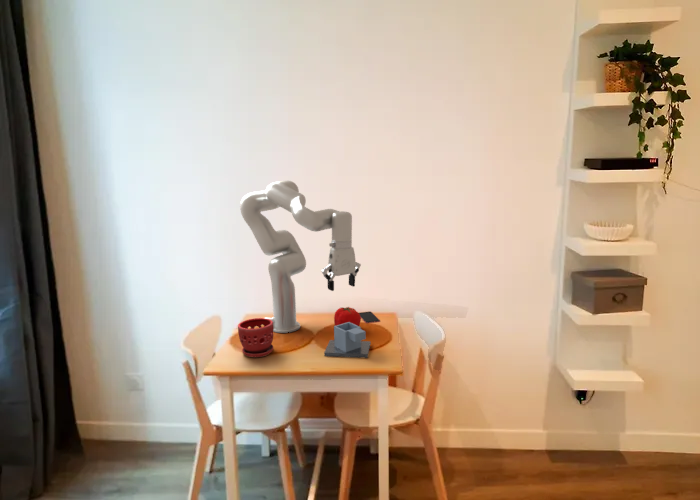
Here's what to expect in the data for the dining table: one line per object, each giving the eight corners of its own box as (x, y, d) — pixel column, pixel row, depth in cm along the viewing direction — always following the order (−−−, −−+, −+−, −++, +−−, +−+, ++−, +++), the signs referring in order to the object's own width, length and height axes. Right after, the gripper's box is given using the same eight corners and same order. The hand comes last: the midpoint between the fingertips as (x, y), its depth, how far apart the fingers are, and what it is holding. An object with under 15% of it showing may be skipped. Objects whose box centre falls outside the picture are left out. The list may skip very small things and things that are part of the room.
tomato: (329, 335, 209) (328, 311, 207) (340, 324, 221) (339, 301, 219) (355, 337, 206) (355, 313, 203) (365, 326, 217) (364, 303, 215)
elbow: (352, 356, 185) (352, 335, 183) (334, 346, 194) (333, 326, 192) (368, 350, 189) (368, 330, 187) (349, 341, 198) (349, 321, 197)
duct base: (324, 356, 189) (323, 339, 187) (330, 343, 200) (329, 327, 199) (367, 358, 187) (367, 341, 185) (370, 345, 198) (370, 329, 197)
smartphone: (371, 311, 236) (381, 321, 223) (371, 312, 236) (381, 322, 223) (356, 312, 234) (365, 322, 221) (356, 314, 235) (365, 324, 221)
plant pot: (279, 346, 198) (278, 317, 196) (267, 361, 186) (265, 330, 183) (248, 344, 201) (246, 315, 198) (234, 358, 189) (231, 328, 186)
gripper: (327, 249, 185) (327, 294, 189) (365, 243, 195) (365, 286, 199) (316, 245, 191) (317, 289, 195) (354, 240, 201) (353, 281, 205)
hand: (341, 287), depth 197 cm, fingers open, 9 cm apart
